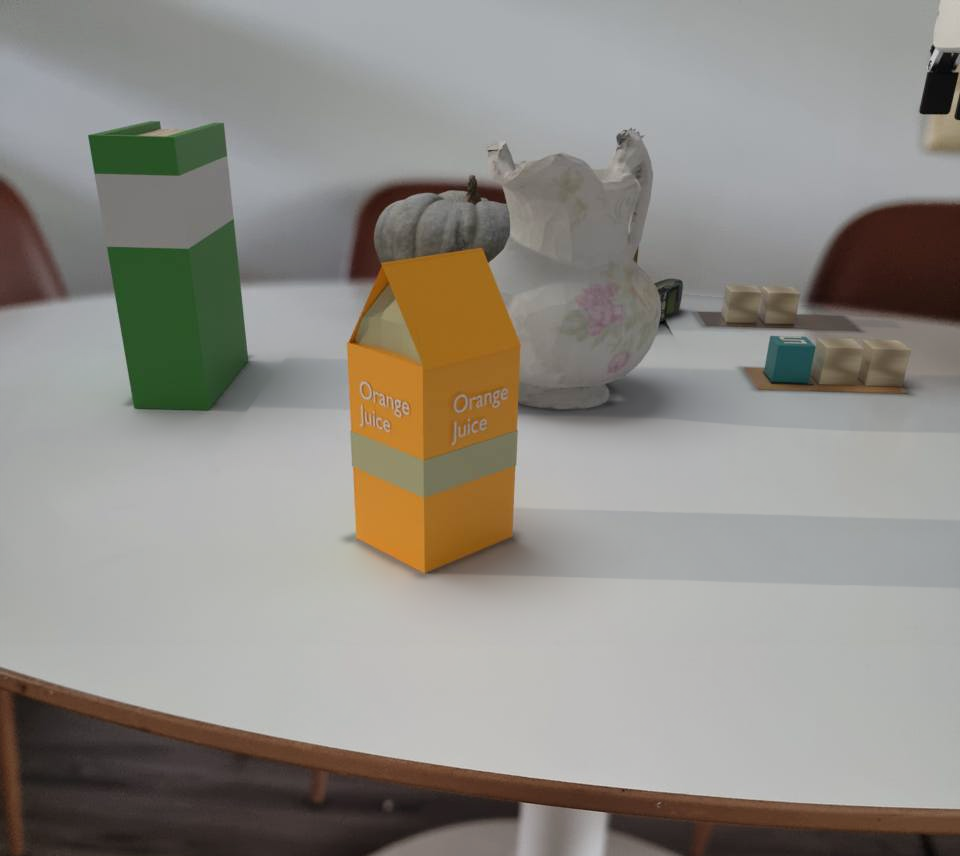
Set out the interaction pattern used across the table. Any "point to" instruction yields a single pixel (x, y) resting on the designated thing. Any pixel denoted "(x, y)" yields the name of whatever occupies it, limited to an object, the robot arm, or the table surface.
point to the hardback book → (172, 260)
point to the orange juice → (434, 410)
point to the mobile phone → (669, 297)
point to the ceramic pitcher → (576, 271)
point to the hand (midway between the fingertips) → (951, 117)
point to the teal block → (789, 359)
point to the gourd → (442, 225)
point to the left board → (799, 322)
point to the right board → (848, 368)
